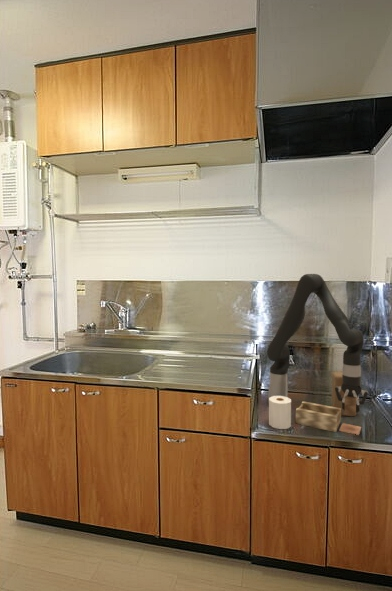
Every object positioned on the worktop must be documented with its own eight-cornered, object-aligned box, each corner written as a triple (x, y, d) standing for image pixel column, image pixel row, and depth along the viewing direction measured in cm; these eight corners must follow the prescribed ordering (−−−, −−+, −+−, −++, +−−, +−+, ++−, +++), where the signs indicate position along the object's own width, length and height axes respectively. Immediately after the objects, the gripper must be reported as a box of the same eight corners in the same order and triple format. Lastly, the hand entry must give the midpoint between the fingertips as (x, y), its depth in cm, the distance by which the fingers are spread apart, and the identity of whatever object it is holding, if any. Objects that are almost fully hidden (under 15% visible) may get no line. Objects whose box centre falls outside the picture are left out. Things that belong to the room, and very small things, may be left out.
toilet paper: (266, 419, 168) (267, 395, 167) (288, 420, 167) (288, 395, 166) (270, 429, 157) (270, 403, 157) (293, 429, 157) (293, 403, 156)
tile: (339, 430, 155) (339, 429, 155) (342, 424, 162) (342, 423, 162) (358, 435, 151) (359, 433, 151) (361, 428, 158) (361, 426, 158)
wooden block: (356, 417, 170) (357, 377, 168) (334, 415, 172) (335, 376, 170) (351, 409, 179) (352, 371, 178) (330, 408, 181) (331, 370, 180)
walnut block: (344, 414, 155) (344, 396, 154) (346, 410, 159) (346, 393, 159) (355, 416, 152) (355, 398, 152) (357, 412, 157) (357, 394, 156)
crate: (295, 423, 163) (295, 409, 163) (302, 414, 174) (302, 401, 173) (336, 432, 154) (336, 417, 153) (340, 422, 164) (341, 408, 164)
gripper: (332, 373, 155) (332, 411, 156) (368, 378, 148) (367, 417, 149) (336, 369, 162) (335, 405, 163) (370, 374, 154) (369, 411, 155)
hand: (350, 411), depth 156 cm, fingers closed on walnut block, 4 cm apart
